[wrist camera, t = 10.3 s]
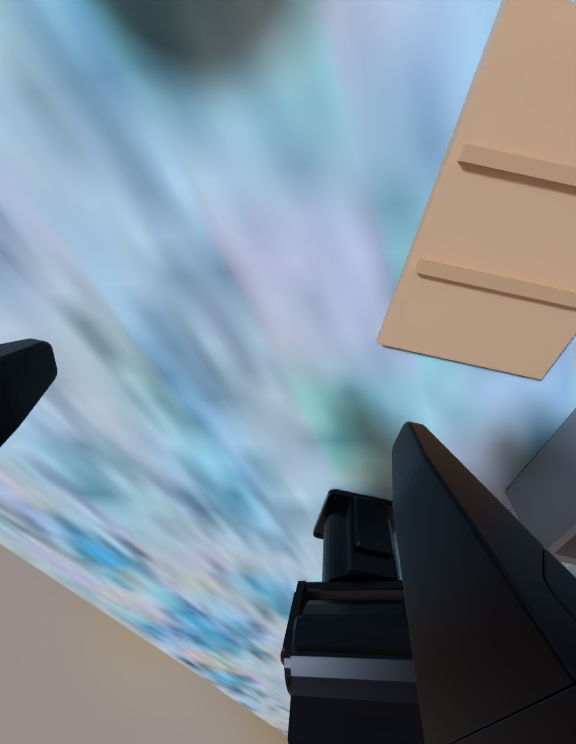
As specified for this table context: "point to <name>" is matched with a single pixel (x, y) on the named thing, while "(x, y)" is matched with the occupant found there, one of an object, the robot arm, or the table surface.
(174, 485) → the table surface
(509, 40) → the lid
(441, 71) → the table surface
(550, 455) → the tub
